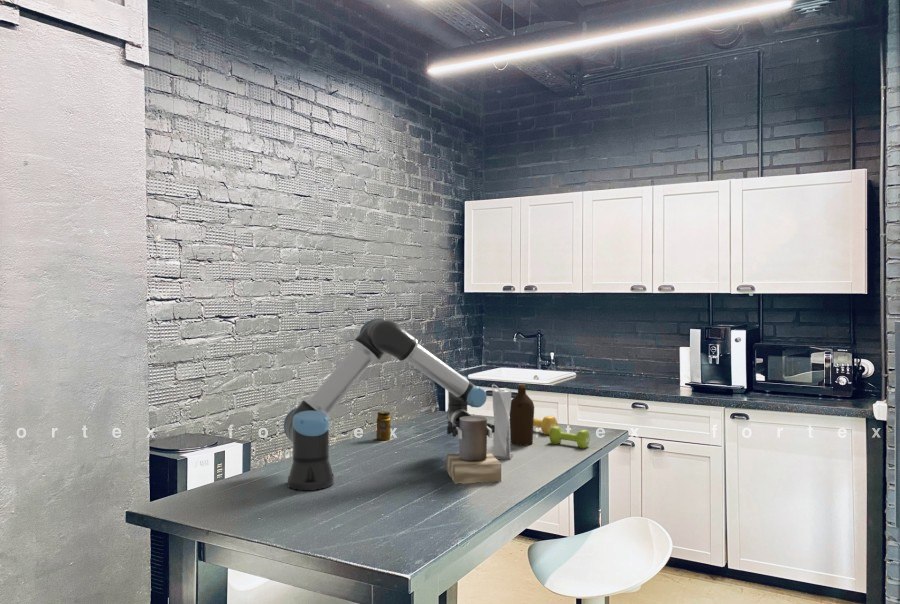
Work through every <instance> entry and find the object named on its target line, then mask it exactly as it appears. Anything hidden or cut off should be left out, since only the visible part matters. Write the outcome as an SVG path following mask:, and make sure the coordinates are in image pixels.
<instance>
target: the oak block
mask: <svg viewBox="0 0 900 604" xmlns="http://www.w3.org/2000/svg"><path fill="white" fill-rule="evenodd" d="M445 456H446V463H445V464H446V465H445V467H446V469H445V470H446V472H447V474H448V475H449V478H452V479H451V480H452V482H453V481H454V482H453V483H454V484H455V485H457V483H462V484H475V483H476V482H481V483H496V482H495V481H500V482H502V462H500V461H499V459H496V458H495V457H494V456H493V454H492V453H491V452H490V451H487V455H486V456H487V458H486V459H483V460H473V461H470V460H464V459H462V458H460V457H459V453H446V455H445ZM476 484H477V483H476Z"/></svg>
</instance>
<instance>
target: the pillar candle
mask: <svg viewBox="0 0 900 604" xmlns="http://www.w3.org/2000/svg"><path fill="white" fill-rule="evenodd" d="M459 419H460V429H461V431H462V439H459V438H458V439H459V446H458V447H459V457H460V458H462V459H464V460H470V461H473V460H483V459H486V458H487V456H486V455H487V452H488V449H487V448H488V445H487V444H488V442H487V441H488V439H487V438H488V436H487V423H488V419H487V417H485V416H481V415H475V414H473V415H471V416H464V417H460V418H459Z"/></svg>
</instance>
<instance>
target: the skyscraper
mask: <svg viewBox="0 0 900 604" xmlns="http://www.w3.org/2000/svg"><path fill="white" fill-rule="evenodd" d="M494 387H495V388H496V389H497V390H496V389H495V390H494ZM491 390H492V410H493V419H494V420H493V421H494V424H493V425H495V432H494V433H492V438H493V439H492V447H493V451H492V452H493V454H492V455H493V456H494V457H495V458H499V459H498V460H507V459H509V460H512V458H513V457H514V456H513V455H514V454H513V453H511V442H510V408H511V400H512V390H511V389H510V388H507V387H502V388H501V387H500V388H499V386H497V385H496V384H495V383H494V384H492V385H491Z"/></svg>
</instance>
